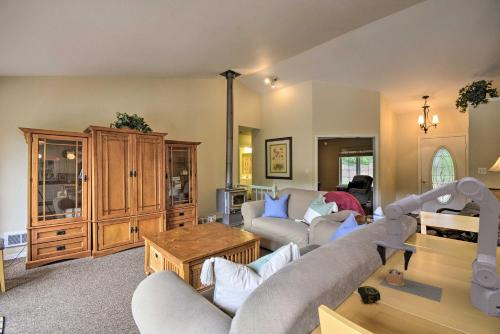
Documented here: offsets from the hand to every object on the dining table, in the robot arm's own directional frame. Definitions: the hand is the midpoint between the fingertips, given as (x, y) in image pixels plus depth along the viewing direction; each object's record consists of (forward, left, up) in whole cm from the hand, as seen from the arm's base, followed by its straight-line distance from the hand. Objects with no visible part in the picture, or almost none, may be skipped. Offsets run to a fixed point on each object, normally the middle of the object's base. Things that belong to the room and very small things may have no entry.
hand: (394, 267), depth 98 cm
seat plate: (-3, -4, -7) cm, 9 cm away
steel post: (0, 0, -7) cm, 7 cm away
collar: (0, 0, -6) cm, 6 cm away
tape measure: (-13, +14, -8) cm, 20 cm away
